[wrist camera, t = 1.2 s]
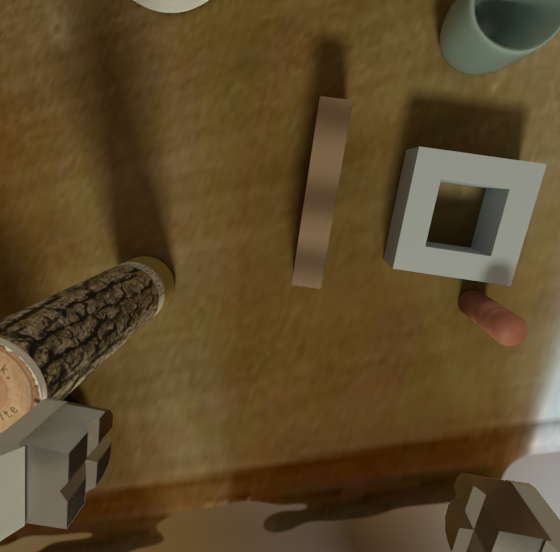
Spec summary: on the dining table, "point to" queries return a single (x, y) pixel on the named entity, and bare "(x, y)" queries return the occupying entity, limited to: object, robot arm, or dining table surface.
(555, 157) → the dining table surface
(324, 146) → the walnut wall
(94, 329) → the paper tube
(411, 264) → the holed block
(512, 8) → the cup
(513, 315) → the sausage
